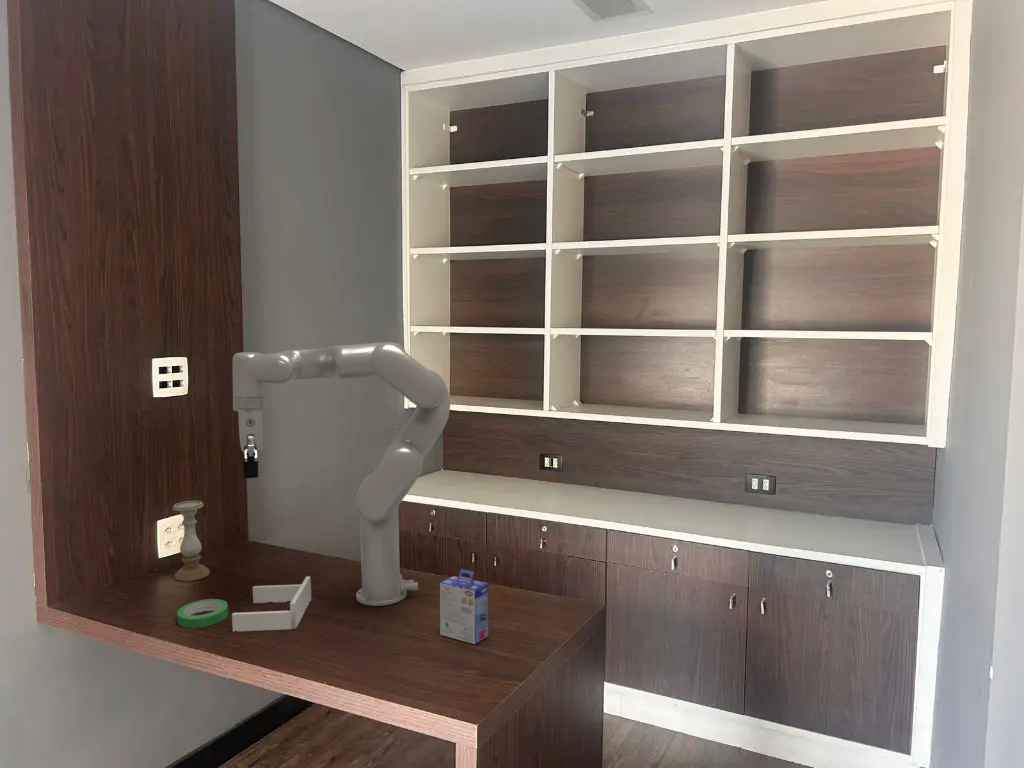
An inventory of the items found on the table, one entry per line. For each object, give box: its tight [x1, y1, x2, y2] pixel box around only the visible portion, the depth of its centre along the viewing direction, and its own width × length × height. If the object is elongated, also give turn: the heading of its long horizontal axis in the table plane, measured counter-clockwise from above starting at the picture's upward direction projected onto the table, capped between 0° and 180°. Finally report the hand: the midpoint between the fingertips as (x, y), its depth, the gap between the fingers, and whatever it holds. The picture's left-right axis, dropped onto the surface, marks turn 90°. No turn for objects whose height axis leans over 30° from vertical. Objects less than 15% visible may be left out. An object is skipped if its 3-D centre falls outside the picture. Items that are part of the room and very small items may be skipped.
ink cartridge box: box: [439, 568, 489, 645], centre depth 158 cm, size 10×6×14 cm, turn 58°
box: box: [231, 575, 312, 632], centre depth 171 cm, size 14×17×6 cm
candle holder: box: [172, 500, 211, 582], centre depth 196 cm, size 9×9×20 cm
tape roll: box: [176, 598, 229, 629], centre depth 170 cm, size 11×11×3 cm
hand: (250, 473), depth 174 cm, fingers open, 9 cm apart
